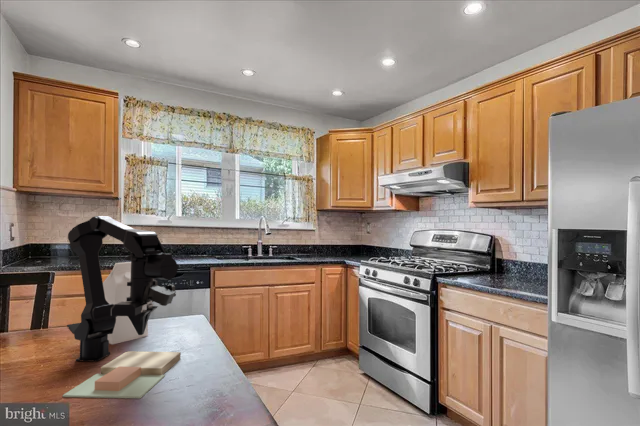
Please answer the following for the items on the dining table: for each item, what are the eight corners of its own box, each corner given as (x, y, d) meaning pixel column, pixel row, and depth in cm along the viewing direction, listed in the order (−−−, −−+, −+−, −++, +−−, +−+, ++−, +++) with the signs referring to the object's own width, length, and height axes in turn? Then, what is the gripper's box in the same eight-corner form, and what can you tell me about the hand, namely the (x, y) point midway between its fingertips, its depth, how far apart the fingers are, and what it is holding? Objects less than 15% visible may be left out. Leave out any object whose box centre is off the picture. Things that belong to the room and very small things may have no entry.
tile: (94, 390, 84) (94, 381, 84) (118, 374, 93) (118, 366, 93) (118, 390, 83) (119, 382, 83) (140, 375, 92) (140, 367, 92)
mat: (62, 396, 81) (62, 395, 81) (96, 375, 93) (96, 373, 93) (140, 398, 81) (140, 396, 81) (164, 376, 92) (164, 375, 92)
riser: (100, 375, 93) (100, 367, 93) (126, 358, 105) (126, 351, 105) (161, 376, 93) (161, 368, 93) (180, 359, 105) (180, 352, 105)
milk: (131, 330, 134) (133, 260, 135) (147, 335, 127) (149, 262, 128) (96, 337, 124) (99, 262, 125) (112, 344, 117) (114, 265, 118)
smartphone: (65, 326, 139) (73, 335, 128) (65, 324, 139) (73, 332, 128) (87, 323, 144) (97, 331, 133) (87, 321, 144) (97, 328, 133)
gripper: (154, 282, 88) (152, 346, 88) (185, 273, 107) (184, 325, 106) (110, 282, 89) (108, 345, 88) (148, 272, 107) (147, 325, 107)
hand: (140, 334), depth 97 cm, fingers closed
